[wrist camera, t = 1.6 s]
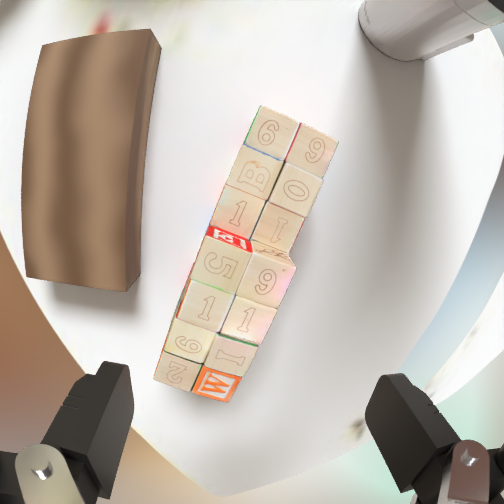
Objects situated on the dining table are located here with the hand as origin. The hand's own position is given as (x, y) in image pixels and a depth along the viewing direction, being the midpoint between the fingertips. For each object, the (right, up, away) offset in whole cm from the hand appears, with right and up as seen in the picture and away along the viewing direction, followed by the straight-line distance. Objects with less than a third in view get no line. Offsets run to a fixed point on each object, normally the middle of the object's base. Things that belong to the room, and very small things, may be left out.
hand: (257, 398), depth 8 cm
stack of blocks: (-2, +6, +22) cm, 23 cm away
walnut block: (-17, +14, +18) cm, 29 cm away
